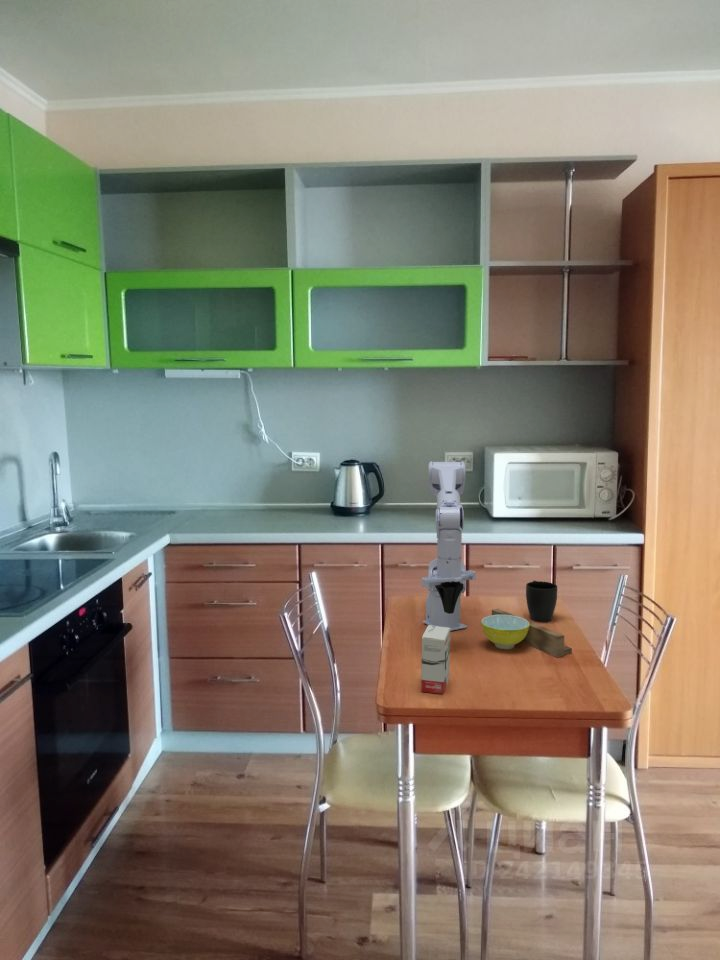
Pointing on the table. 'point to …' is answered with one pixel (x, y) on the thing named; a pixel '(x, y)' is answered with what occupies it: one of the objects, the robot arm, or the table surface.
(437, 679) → the ink box
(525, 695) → the table surface
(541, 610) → the mug
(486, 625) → the bowl
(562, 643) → the walnut wall
